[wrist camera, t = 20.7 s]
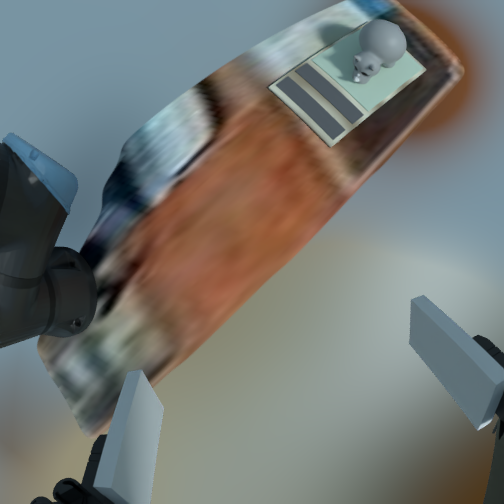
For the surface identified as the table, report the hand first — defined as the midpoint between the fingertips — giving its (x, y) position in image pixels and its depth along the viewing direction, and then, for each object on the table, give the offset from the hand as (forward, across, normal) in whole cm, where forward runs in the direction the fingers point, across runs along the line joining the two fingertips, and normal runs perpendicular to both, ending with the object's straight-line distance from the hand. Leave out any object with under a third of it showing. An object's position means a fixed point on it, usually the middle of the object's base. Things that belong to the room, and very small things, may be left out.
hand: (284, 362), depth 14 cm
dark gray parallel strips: (+34, +15, +14) cm, 40 cm away
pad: (+35, +26, +19) cm, 47 cm away
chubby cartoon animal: (+35, +25, +18) cm, 47 cm away
